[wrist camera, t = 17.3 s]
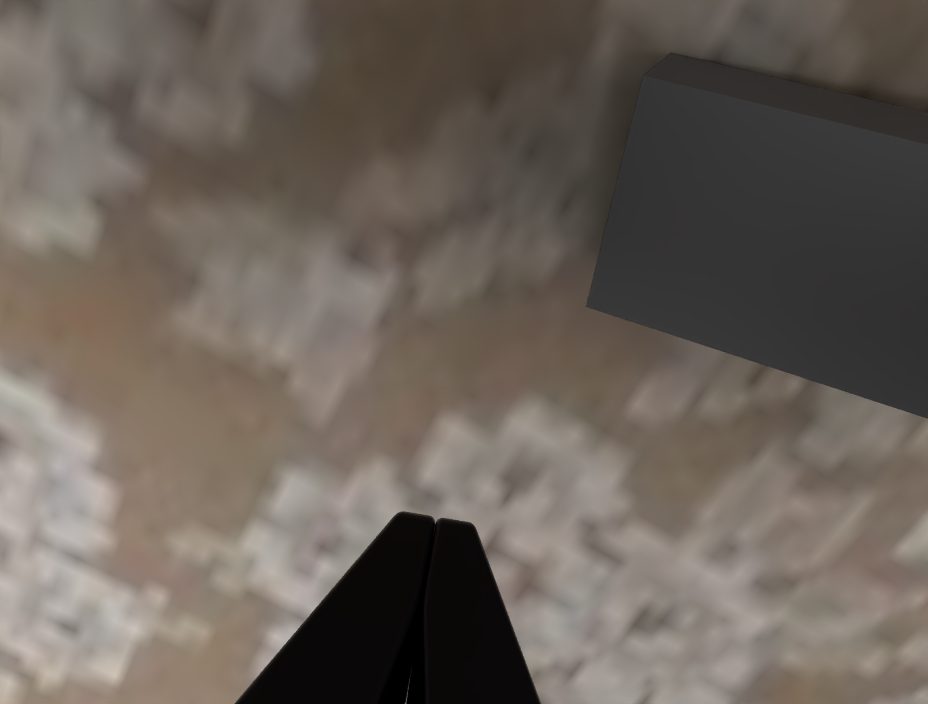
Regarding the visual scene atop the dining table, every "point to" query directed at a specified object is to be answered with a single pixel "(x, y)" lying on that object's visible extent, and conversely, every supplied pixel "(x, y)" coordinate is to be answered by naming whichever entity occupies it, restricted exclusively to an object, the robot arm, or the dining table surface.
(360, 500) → the dining table surface
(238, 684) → the dining table surface
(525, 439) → the dining table surface
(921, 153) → the dark gray rectangular block
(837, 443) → the dining table surface
